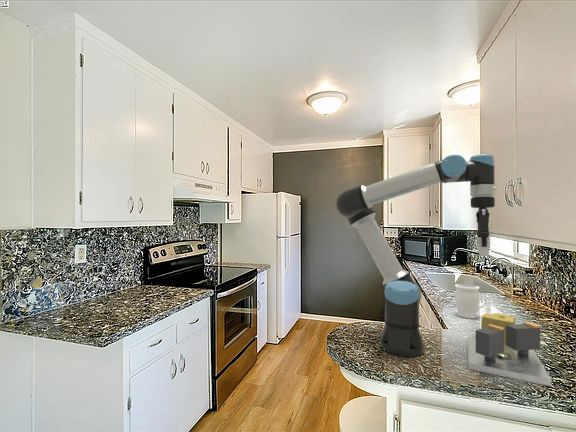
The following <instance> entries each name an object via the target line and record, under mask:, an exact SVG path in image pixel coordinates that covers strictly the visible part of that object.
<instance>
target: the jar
mask: <svg viewBox="0 0 576 432" xmlns="http://www.w3.org/2000/svg"><path fill="white" fill-rule="evenodd" d="M454 287H455V292H454V302H455V307H456V310H457V311H458V312H457V313H456V315H457V317H458V316H459V317H460V318H465V319H477V318H478V315H477V313H478V311H479V305H480V292H479V290H480V286H478V285H475V284H469V283H456V284H454Z"/></svg>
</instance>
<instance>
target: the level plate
mask: <svg viewBox="0 0 576 432" xmlns="http://www.w3.org/2000/svg"><path fill="white" fill-rule="evenodd" d="M466 347H467V348H466V350H467V351H466V352H467V361H468V362H467V363H468V369H469V370H470V371H475V372H480V373H485V374H490V375H493V376H498V377H499V376H501V377H504V378H509V379H513V380H517V381H522V382H527V383H528V382H529V383H533V384H537V385H541V386H547V387H552V378H551V376H550V375H549V373H548V372H547V370H546V368H545V367H544V365H543V363H542V362H541V360H540V358H539V357H538V354H537V353H536V351H535V349H534V350H529V357H523V356H520V355H518V354H517V351H516V350H514V349H512V348H510V347H508V346H506V344H504V352H501V353H499V354H496V361H495V362H490V361H487V360H485V359H484V355H481V354H479V353H476V338H471V337H467V338H466Z"/></svg>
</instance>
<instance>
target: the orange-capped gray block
mask: <svg viewBox="0 0 576 432" xmlns="http://www.w3.org/2000/svg"><path fill="white" fill-rule="evenodd" d="M506 346H508V347H510V348H512V349H514V350H516V351H517V354H518V355H520V356H523V357H529V350H534V351H535V350H541V326H540V325H539V324H536V323H533V322H530V321H523V323H515V324H514V325H506Z"/></svg>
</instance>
